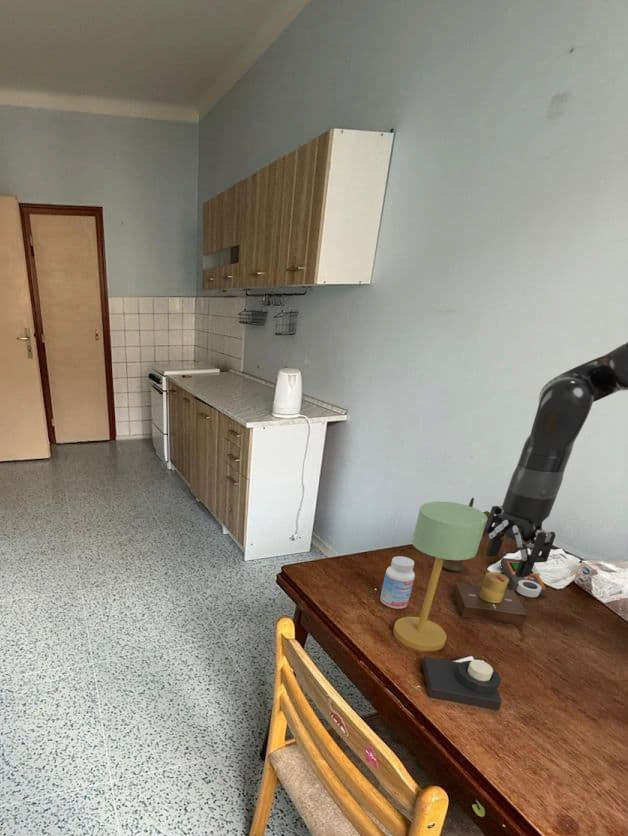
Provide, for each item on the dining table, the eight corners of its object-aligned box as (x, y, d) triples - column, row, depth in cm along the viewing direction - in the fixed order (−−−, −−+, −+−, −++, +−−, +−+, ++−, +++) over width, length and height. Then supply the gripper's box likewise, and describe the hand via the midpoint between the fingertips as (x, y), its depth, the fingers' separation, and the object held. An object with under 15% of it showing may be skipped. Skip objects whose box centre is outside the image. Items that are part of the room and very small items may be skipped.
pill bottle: (393, 612, 108) (404, 570, 102) (374, 599, 112) (382, 557, 107) (413, 605, 110) (424, 564, 104) (393, 593, 115) (402, 552, 109)
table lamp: (442, 625, 103) (479, 504, 90) (452, 657, 94) (494, 528, 80) (388, 617, 106) (416, 499, 93) (392, 647, 97) (424, 521, 83)
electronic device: (518, 587, 111) (502, 555, 123) (513, 597, 113) (498, 565, 125) (551, 592, 109) (532, 559, 121) (546, 602, 111) (528, 568, 123)
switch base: (487, 676, 89) (493, 660, 87) (500, 711, 81) (507, 694, 80) (422, 665, 92) (426, 649, 90) (428, 697, 85) (434, 681, 83)
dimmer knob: (474, 592, 109) (482, 571, 106) (493, 592, 109) (501, 570, 106) (486, 603, 105) (494, 581, 102) (505, 602, 105) (514, 580, 102)
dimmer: (509, 600, 111) (514, 589, 109) (523, 625, 102) (527, 614, 101) (453, 593, 114) (456, 582, 112) (461, 616, 106) (465, 605, 104)
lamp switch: (487, 669, 85) (490, 662, 85) (492, 683, 82) (495, 675, 82) (465, 665, 86) (467, 658, 86) (469, 679, 83) (472, 671, 83)
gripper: (583, 503, 81) (550, 583, 89) (524, 476, 94) (499, 548, 101) (542, 505, 81) (512, 585, 88) (487, 478, 93) (466, 550, 101)
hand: (505, 565), depth 95 cm, fingers open, 8 cm apart
